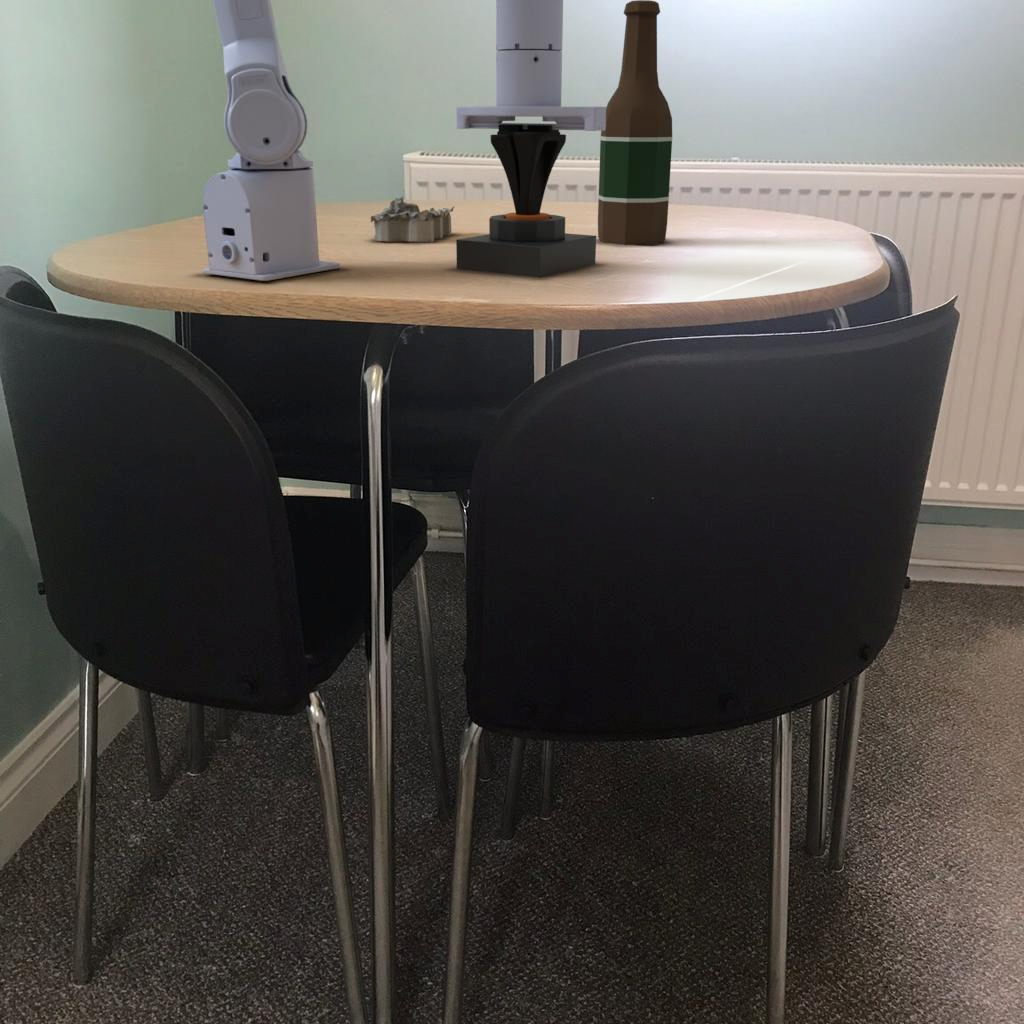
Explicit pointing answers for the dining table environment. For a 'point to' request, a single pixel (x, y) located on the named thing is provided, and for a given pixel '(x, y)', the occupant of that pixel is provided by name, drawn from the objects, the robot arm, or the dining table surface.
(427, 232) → the egg carton
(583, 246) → the button base
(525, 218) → the switch
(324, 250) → the dining table surface
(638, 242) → the beer bottle
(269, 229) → the robot arm
